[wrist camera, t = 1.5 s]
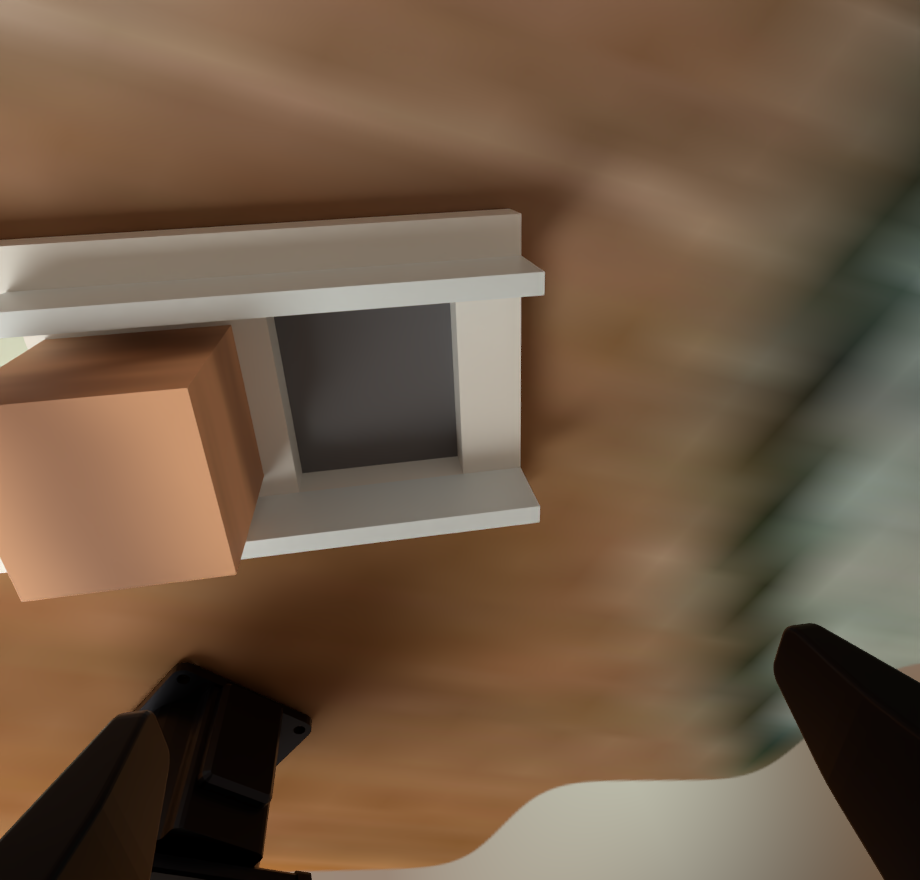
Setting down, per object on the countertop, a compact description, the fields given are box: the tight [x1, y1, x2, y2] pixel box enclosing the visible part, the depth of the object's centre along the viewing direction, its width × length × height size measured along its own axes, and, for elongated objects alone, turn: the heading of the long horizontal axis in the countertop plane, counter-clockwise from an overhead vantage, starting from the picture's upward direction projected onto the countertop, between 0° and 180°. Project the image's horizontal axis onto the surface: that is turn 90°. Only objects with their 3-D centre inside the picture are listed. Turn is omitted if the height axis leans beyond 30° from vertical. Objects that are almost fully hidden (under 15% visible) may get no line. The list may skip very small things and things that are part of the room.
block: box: [0, 325, 264, 602], centre depth 16 cm, size 5×5×5 cm
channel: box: [0, 209, 545, 573], centre depth 17 cm, size 24×10×4 cm, turn 93°
